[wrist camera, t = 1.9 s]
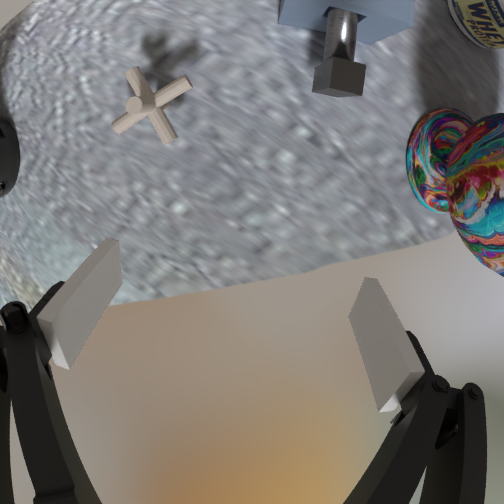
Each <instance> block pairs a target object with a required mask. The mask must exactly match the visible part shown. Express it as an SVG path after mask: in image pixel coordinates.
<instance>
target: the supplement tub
mask: <svg viewBox="0 0 504 504" xmlns="http://www.w3.org/2000/svg"><path fill="white" fill-rule="evenodd" d="M448 6H449V10H450V13H451V15H452V17H453V19H454V21H455V22H456V24H457V25H458V27H459V28H460V29H461V31H462V32H463V33H464V34H465V35H466V36H467V37H468V38H469V39H470V40H471V41H472V42H474V43H475V44H477V45H479V46H481V47H483V48H487V49H497V48H504V0H448Z"/></svg>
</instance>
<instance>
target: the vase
mask: <svg viewBox="0 0 504 504" xmlns="http://www.w3.org/2000/svg"><path fill="white" fill-rule="evenodd" d="M407 174H408V179H409V183H410V186H411V188H412V191H413V193H414V194H415V196H416V198H417V199H418V200H419V202H420V203H421V204H422V205H423V206H424V207H426V208H427V209H429V210H431V211H433V212H436V213H440V214H448V213H450V215H451V219H452V222H453V224H454V226H455V228H456V230H457V232H458V233H459V235H460V237H461V239H462V241H463V242H464V244H465V245H466V247H468V249H469V250H470V251H471V252H472V253H473V254H474V256H475V257H476V258H477V259H478V260H479V261H480V262H481V263H482V264H483V265H485V266H486V267H488V268H490V269H491V270H493V271H495V272H496V273H498V274H500V275H501V276H503V277H504V113H498V114H494V115H490V116H486V117H483V118H481V119H479V120H477V121H476V122H475V123H474V122H473V120H472V119H471V118H470V117H468V116H467V115H466V114H464V113H463V112H461V111H459V110H456V109H452V108H442V109H438V110H435V111H433V112H431V113H429V114H428V115H427V116H425V117H424V118H423V119H422V120H421V122H420V123H419V124H418V125H417V127H416V129H415V130H414V132H413V135H412V137H411V140H410V143H409V147H408V152H407Z"/></svg>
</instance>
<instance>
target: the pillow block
mask: <svg viewBox="0 0 504 504" xmlns="http://www.w3.org/2000/svg"><path fill="white" fill-rule="evenodd" d="M329 6H332V7H336V8H340V9H343V10H347V11H351V12H354V13H358V25H357V36H356V41H360V42H363V43H367V44H372V43H374V42H377V41H379V40H381V39H384V38H386V37H388V36H391V35H393V34H395V33H398V32H400V31H403V30H405V29H408V28H411V27H413V26H414V14H415V0H281V4H280V12H279V19H278V24H281V25H288V26H294V27H300V28H306V29H311V30H316V31H321V32H325V33H326V32H327V23H328V13H329Z"/></svg>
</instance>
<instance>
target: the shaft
mask: <svg viewBox="0 0 504 504" xmlns="http://www.w3.org/2000/svg"><path fill="white" fill-rule="evenodd" d="M357 25H358V13H354V12H351V11H347V10H343V9H340V8H336V7H332V6H329V13H328V23H327V32H326V41H325V50H324V58H323V63H322V64H320V65H318V66H317V67H315V73H314V81H313V88H312V92H315V93H320V94H325V95H330V96H334V97H349V96H362V93H363V86H364V78H365V70H366V65H364V64H361V63H357V62H354V55H355V46H356V36H357Z"/></svg>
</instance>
